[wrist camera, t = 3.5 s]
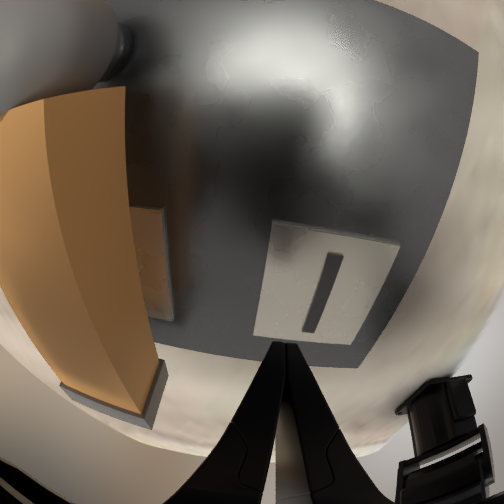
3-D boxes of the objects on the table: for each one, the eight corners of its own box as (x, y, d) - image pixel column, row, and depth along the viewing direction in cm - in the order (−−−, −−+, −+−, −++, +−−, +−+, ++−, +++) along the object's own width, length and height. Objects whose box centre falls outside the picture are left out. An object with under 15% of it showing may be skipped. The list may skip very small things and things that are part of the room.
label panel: (354, 348, 15) (361, 392, 13) (94, 306, 16) (73, 341, 13) (457, 53, 6) (507, 53, 3) (61, 23, 6) (13, 22, 4)
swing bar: (32, 23, 4) (-42, 29, 1) (149, -20, 4) (73, -59, 1) (94, 353, 13) (71, 399, 10) (168, 375, 13) (151, 430, 10)
